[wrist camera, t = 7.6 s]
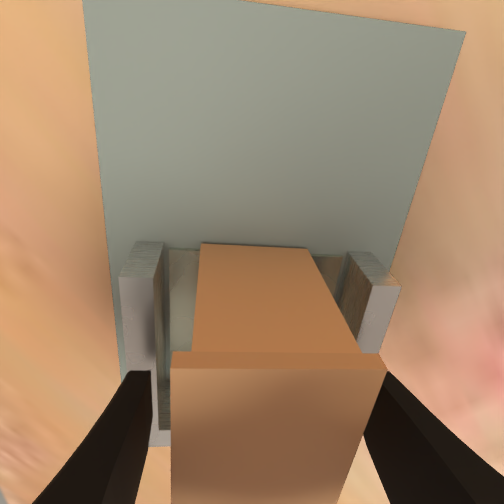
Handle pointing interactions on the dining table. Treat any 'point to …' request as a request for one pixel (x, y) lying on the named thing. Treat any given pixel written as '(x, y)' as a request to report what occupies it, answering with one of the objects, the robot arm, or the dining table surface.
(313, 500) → the chute block
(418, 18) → the dining table surface
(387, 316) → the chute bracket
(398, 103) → the deck plate
